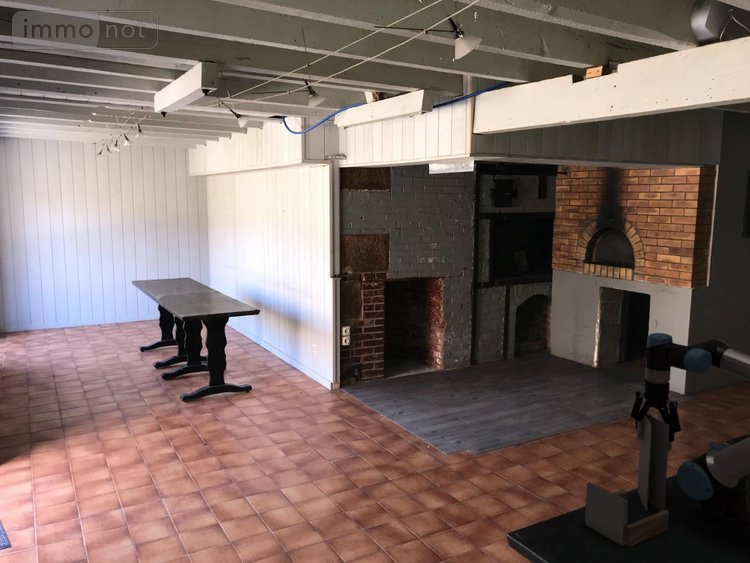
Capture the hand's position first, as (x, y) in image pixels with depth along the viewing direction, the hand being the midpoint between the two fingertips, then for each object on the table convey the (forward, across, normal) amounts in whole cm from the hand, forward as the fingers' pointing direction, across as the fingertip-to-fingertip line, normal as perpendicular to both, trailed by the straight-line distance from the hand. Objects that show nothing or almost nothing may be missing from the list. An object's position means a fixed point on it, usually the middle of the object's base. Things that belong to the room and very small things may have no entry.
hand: (653, 444), depth 207 cm
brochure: (+21, 0, 0) cm, 21 cm away
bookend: (+21, +5, -29) cm, 36 cm away
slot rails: (+21, +5, -19) cm, 29 cm away
